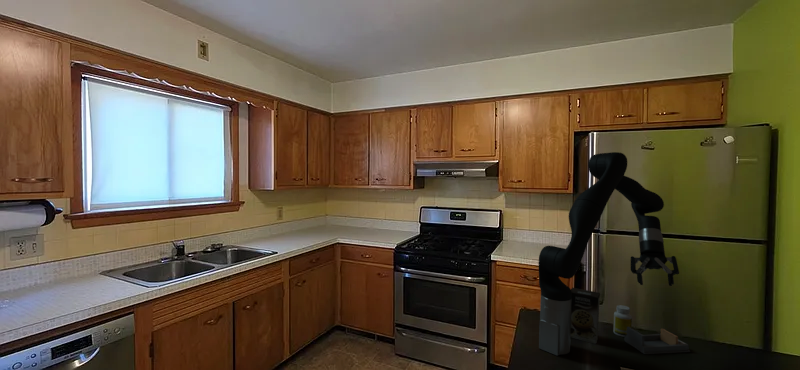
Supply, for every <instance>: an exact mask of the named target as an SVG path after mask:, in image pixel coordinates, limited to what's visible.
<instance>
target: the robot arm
mask: <svg viewBox="0 0 800 370" xmlns="http://www.w3.org/2000/svg"><path fill="white" fill-rule="evenodd" d="M587 166H588V172H589V173H590V174H591V176H593V177H594V178H596V179H597V181H596V182H595V183H594V184H593V185H591V186H589V187H588V188H587V189H585V190H584V191H583V192H581V193H580V194H579V195H578V196H577V197H576V198H575V200H574V201H573V203H572V206H571V208H570V209H569V211H568V221H569V225H570V227H569V228H570V232H571V238H570V240H569V243H568V245H567V247H566V248H563V247H559V246H553V245H545V246H544V247H543V248H542V249H541V250H540V253H539V257H538V285H539V289H540V305H539V307H540V308H539V309H540V311H539V312H540V313H539V329H538V330H539V334H538V348H539V349H540V350H542V351H544V352H547V353H550V354H553V355H555V356H560V355H568V354H569V353H570V352H571V337H570V335H571V304H572V291H571V289H572V288H570V287H569V286H568V285H567V284H566V283H564V282H563V280H562V279H567V280H570V279H571V278H574V276H575V275H576V274H577V271H579V268H580V265H581V263H582V260H583V258H584V254H585V252H586V249H587V247H588V243H589V241H590V240H591V237H592V234H593V233H594V230H595V228H596V226H597V225H598V223H599V221H600V219H601V217H602V215H603V213H604V211H605V209H606V206H607V203H608V202H609V199H610V198H611V196H612V194H613V192H615V190H616V191H618V193H620V194H621V195H622V196H624V198H625V199H627V201H629V202H630V204H631V205H630V206H631V209H632V211H633V213H634V215H635V217H636V220H637V223H638V225H637V226H638V243H639V244H638V245H639V254H640V255H639V257H635V256H632V255H631V256H630V272H631V273H632V274H633V275H634V274H635V275H636V280H637V282H638V284H639V285H640V286H644V281H643V274H644V272H646V270H648V269H649V270H661V269H662V270H663V271H664V272H665V273H667V280H668V286H669V287H672V286H673V285H675V279H674V276H675V275H680V270H679V266H678V261H677V258H676V256H675V255H672V256H670V257H669V256H668V257H667V256H666V252H665V245H664V237H663V233H662V229H661V228H662V227H661V221H660V220H661V219H659V217H658V216H655V215H646V214H651V213H658V212H660V211H662V210H663V209H664V207H665V202H664V200H663V198H662V197H661V195H659V194H657V193H656V192H653V191H651V190H649V189H646V188H645V187H644V186H643V185H642V184H641V183H639V181H637V180H635V179H633V178H631V177H629V176H626V175H625V174H626V171H627V168H628V158H627V156H626V155H625V154H624V153H622V152H612V151H611V152H604V153H603V152H601V153H596V154H594V155H592V156H591V157H590V158H589V159H588V165H587ZM638 262H640V263H641V264H640V265H639V268H638V269H637V267H636V266H637V264H639V263H638ZM667 262H669V263H670V264H672V267H673V269H670V268H669V267H668V266H667V265H666V264H667Z"/></svg>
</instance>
